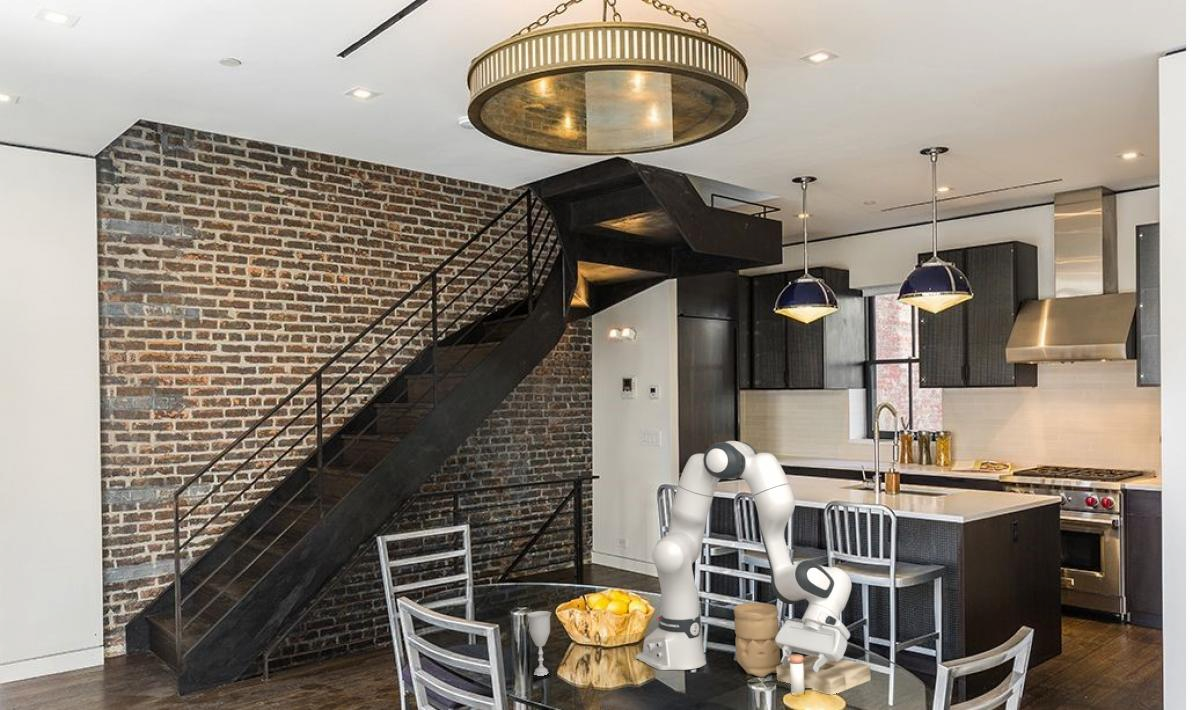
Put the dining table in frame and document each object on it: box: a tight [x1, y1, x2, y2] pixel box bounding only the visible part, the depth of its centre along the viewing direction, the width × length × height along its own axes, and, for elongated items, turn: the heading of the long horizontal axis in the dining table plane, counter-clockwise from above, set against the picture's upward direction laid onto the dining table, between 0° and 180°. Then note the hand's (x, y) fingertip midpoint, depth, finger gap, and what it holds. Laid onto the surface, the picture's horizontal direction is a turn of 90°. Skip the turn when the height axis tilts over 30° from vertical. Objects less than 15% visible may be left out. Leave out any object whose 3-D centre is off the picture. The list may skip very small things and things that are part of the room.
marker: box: [788, 653, 806, 694], centre depth 237 cm, size 4×4×10 cm
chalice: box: [527, 610, 552, 676], centre depth 261 cm, size 7×7×18 cm
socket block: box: [776, 655, 872, 695], centre depth 248 cm, size 18×18×4 cm
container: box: [733, 602, 781, 678], centre depth 260 cm, size 13×13×18 cm
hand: (798, 667), depth 238 cm, fingers open, 8 cm apart
